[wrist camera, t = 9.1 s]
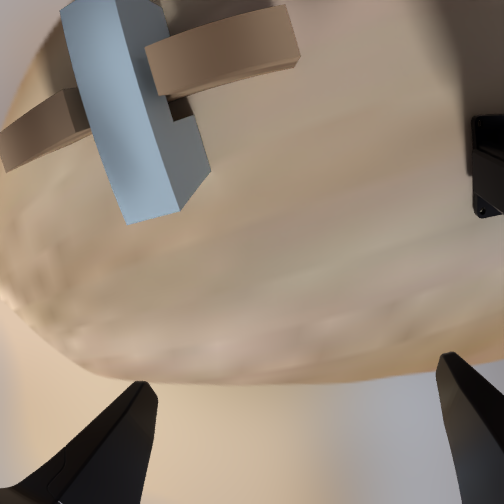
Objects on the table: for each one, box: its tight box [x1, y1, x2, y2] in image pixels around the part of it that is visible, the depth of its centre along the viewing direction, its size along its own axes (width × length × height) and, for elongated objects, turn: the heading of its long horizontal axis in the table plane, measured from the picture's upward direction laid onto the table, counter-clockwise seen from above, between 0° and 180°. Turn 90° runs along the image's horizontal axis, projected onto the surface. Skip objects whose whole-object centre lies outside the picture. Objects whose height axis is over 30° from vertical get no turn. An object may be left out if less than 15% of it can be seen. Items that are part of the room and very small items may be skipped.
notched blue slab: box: [60, 0, 211, 225], centre depth 13 cm, size 2×10×6 cm, turn 15°
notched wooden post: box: [0, 4, 301, 173], centre depth 13 cm, size 14×2×6 cm, turn 105°
